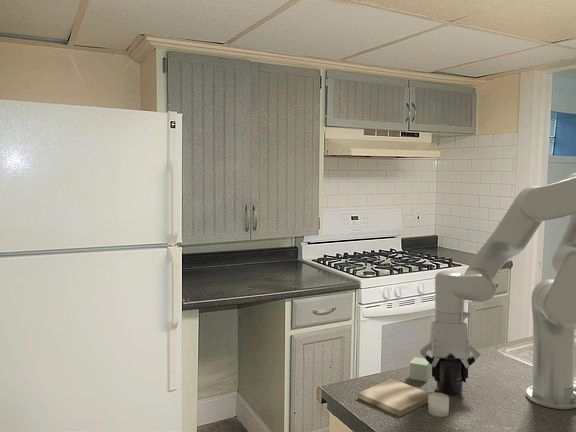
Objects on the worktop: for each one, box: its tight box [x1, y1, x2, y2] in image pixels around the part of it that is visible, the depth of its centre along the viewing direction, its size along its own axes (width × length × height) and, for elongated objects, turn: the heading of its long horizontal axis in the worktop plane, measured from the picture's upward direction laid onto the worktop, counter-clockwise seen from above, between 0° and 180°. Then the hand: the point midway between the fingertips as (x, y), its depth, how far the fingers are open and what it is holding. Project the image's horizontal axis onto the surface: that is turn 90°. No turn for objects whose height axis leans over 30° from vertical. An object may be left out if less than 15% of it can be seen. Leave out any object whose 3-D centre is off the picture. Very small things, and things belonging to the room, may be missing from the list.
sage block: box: [409, 356, 432, 383], centre depth 145 cm, size 5×5×5 cm
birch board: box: [357, 378, 432, 417], centre depth 132 cm, size 14×14×2 cm
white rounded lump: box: [427, 392, 450, 418], centre depth 124 cm, size 5×5×4 cm
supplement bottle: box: [436, 353, 464, 396], centre depth 135 cm, size 7×7×12 cm
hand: (449, 379), depth 136 cm, fingers closed on supplement bottle, 6 cm apart
